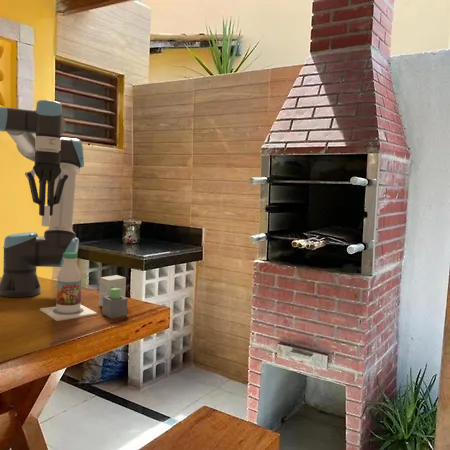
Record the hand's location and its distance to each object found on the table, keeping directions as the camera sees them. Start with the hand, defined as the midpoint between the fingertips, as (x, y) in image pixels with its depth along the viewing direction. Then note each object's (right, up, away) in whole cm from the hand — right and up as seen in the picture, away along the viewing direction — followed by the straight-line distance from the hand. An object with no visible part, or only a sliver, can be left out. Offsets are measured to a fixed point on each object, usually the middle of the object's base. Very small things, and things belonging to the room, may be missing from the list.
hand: (45, 226), depth 146 cm
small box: (+15, -29, +23) cm, 41 cm away
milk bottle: (+4, -29, +11) cm, 31 cm away
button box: (+19, -31, +12) cm, 38 cm away
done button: (+19, -27, +11) cm, 35 cm away
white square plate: (+4, -30, +11) cm, 32 cm away
